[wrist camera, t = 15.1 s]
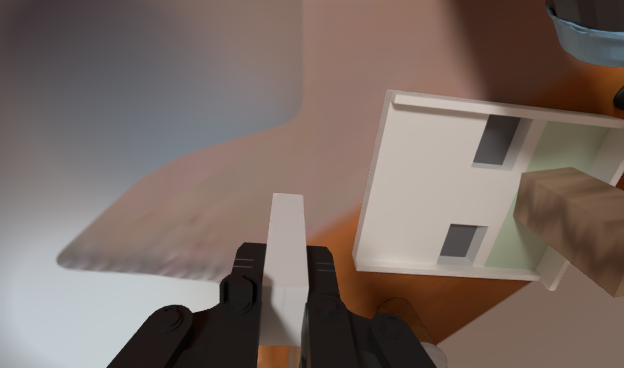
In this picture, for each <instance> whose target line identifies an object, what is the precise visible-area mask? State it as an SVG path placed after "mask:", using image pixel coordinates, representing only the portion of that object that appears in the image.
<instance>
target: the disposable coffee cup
mask: <svg viewBox="0 0 624 368" xmlns="http://www.w3.org/2000/svg"><path fill="white" fill-rule="evenodd" d="M379 313H391V314H394V315H397V316H398V317H400V318H401V319H403V320H404V321H405V322H406V323H407V324H408V325H409V327H410V328H411V330H412V331H413V333H414V334H415V336H416V337H417V339H418V340H419V342H420V343H421V345H422V346H423V347H424V349H425V350H426V352H427V353H428V355H429V356H430V358H431V359H432V361H433V362H434V364H435V365H436V367H437V368H447V359H446V356H445V354H444V353H443V352H442V351H441V350H440V349H439V348H438V347H437V346H436V345H435V343H434V341H433V339H432V338H431V336H430V335H429V333H428V332H427V330H426V329H425V327H424V325H423V323H422V322H421V320H420V319H419V317H418V315H417V314H416V312H415V311H414V309H413V308H412V306H411V304H410V303H409V302H408V301H407V300H405V299H401V298H395V299H390V300H388V301H386V302H384V303H383V304H382V305H381V306H380V307H379V309H378V312H377V314H379Z"/></svg>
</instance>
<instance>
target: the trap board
mask: <svg viewBox="0 0 624 368" xmlns="http://www.w3.org/2000/svg"><path fill="white" fill-rule="evenodd" d="M567 167H573V168H575V169H577V170H579V171H582V172H584V173H586V174H588V175H590V176H592V177H595V178H597V179H599V180H601V181H603V182H605V183H608V184H610V185H612V186H614V187H615V186H616V184H617V182H618V181H619V179H620V177H621V175H622V174H623V172H624V119H620V118H616V117H611V116H607V115H602V114H593V113H585V112H576V111H568V110H559V109H551V108H542V107H534V106H525V105H517V104H508V103H499V102H491V101H482V100H474V99H465V98H457V97H448V96H440V95H431V94H423V93H414V92H406V91H397V90H389V89H387V90H386V95H385V100H384V105H383V109H382V114H381V119H380V123H379V128H378V133H377V138H376V142H375V147H374V152H373V157H372V161H371V166H370V171H369V176H368V180H367V185H366V190H365V194H364V199H363V204H362V209H361V213H360V218H359V223H358V228H357V232H356V237H355V242H354V246H353V251H352V256H353V260H354V264H355V267H356V271H368V272H386V273H404V274H422V275H439V276H457V277H475V278H493V279H510V280H528V281H540V282H541V283H542V284H543V285H544V286H545V287H546V288H547V289H548V290H553V291H555V289H556V287H557V285H558V284H559V282H560V280H561V279H562V277H563V275H564V273H565V272H566V270H567V268H568V267H569V265H570V263H571V262H569V261H568V260H567V259H566V258H564V257H563V256H562V255H561V254H559V253H558V252H557V251H556V250H554V249H553V248H552V247H551V246H549V245H548V244H547V243H546V242H544V241H543V240H542V239H541V238H540V237H538V236H537V235H536V234H535V233H533V232H532V231H531V230H530V229H528V228H527V227H526V226H525V225H523V224H522V223H521V222H520V221H518V220H517V219H516V218H515V217H514V216H513V213H514V208H515V203H516V199H517V194H518V189H519V184H520V179H521V174H522V173H524V172H533V171H541V170H550V169H558V168H567Z"/></svg>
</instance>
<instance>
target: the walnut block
mask: <svg viewBox="0 0 624 368" xmlns="http://www.w3.org/2000/svg"><path fill="white" fill-rule="evenodd" d="M513 216H514V217H515V218H516V219H517V220H518V221H520V222H521V223H522V224H523V225H525V226H526V227H527V228H528V229H530V230H531V231H532V232H533V233H535V234H536V235H537V236H538V237H540V238H541V239H542V240H543V241H544V242H546V243H547V244H548V245H549V246H551V247H552V248H553V249H554V250H556V251H557V252H558V253H559V254H561V255H562V256H563V257H564V258H566V259H567V260H568V261H569V262H571V263H572V264H573V265H574V266H575V267H577V268H578V269H579V270H580V271H582V272H583V273H584V274H585V275H587V276H588V277H589V278H590V279H592V280H593V281H594V282H595V283H597V284H598V285H599V286H600V287H601V288H603V289H604V290H605V291H606V292H608V293H609V294H610V295H611V296H613V297H622V296H624V191H623V190H621V189H618V188H616V187H614V186H612V185H610V184H608V183H605V182H603V181H601V180H599V179H597V178H595V177H592V176H590V175H588V174H586V173H584V172H582V171H579V170H577V169H575V168H573V167H567V168H558V169H550V170H541V171H533V172H524V173H522V174H521V179H520V184H519V189H518V194H517V199H516V203H515V208H514V213H513Z"/></svg>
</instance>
